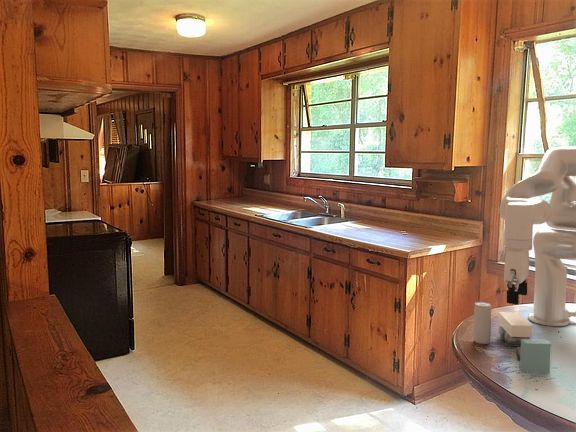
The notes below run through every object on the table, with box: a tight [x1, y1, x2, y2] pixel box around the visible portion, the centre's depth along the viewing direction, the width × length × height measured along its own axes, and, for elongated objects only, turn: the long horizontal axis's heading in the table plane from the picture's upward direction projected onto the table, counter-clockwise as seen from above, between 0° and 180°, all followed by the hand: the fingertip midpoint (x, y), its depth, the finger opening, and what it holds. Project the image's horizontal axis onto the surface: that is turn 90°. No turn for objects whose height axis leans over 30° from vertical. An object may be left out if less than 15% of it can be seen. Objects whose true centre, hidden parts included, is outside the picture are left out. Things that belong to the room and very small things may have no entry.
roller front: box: [504, 332, 531, 347], centre depth 145 cm, size 6×4×4 cm, turn 83°
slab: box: [497, 311, 534, 338], centre depth 147 cm, size 6×12×4 cm, turn 173°
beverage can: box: [473, 301, 492, 345], centre depth 148 cm, size 5×5×12 cm
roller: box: [515, 346, 521, 361], centre depth 135 cm, size 6×4×4 cm, turn 84°
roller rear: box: [498, 325, 506, 340], centre depth 150 cm, size 6×4×4 cm, turn 83°
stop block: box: [519, 338, 552, 374], centre depth 128 cm, size 6×3×8 cm, turn 83°
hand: (517, 298), depth 147 cm, fingers open, 9 cm apart
